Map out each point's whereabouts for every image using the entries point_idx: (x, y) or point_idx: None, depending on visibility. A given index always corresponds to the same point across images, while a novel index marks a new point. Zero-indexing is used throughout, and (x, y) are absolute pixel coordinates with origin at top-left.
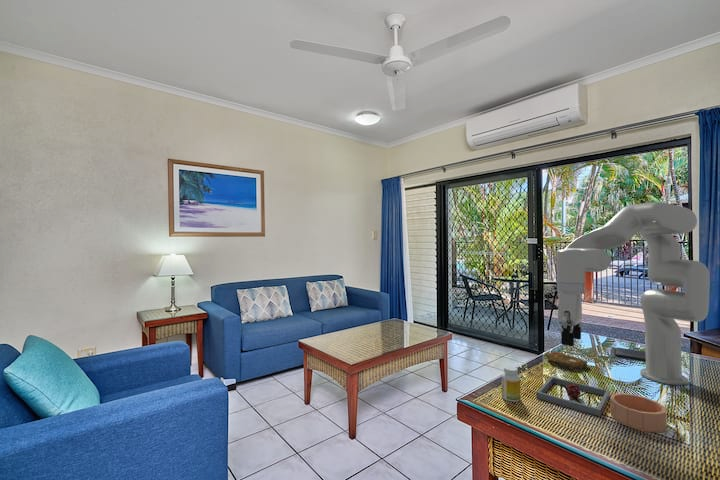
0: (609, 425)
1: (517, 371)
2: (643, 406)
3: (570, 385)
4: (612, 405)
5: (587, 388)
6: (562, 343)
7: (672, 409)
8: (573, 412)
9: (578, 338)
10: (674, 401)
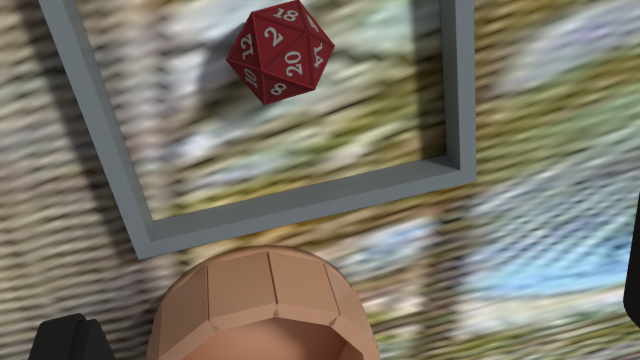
0: (82, 294)
1: None
2: (356, 350)
3: (275, 51)
4: (186, 315)
5: (451, 67)
6: (43, 340)
7: (499, 351)
8: (44, 139)
9: (629, 301)
10: (598, 328)
